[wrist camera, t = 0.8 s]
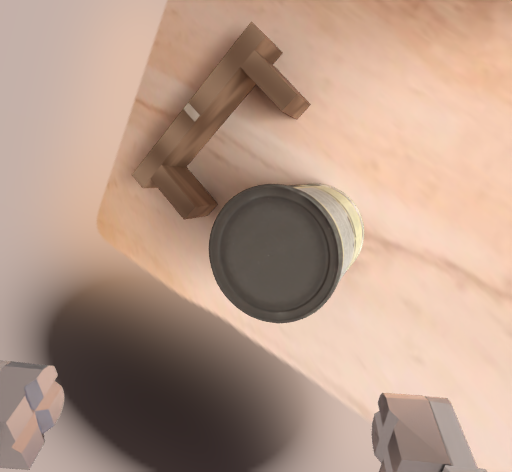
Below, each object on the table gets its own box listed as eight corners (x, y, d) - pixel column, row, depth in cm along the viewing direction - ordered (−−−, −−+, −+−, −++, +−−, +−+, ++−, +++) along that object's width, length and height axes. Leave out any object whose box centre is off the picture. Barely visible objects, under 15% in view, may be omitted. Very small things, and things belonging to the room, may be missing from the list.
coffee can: (323, 298, 42) (282, 351, 29) (252, 237, 44) (185, 261, 31) (387, 225, 38) (374, 248, 25) (307, 163, 41) (257, 154, 28)
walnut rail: (270, 39, 40) (250, 20, 36) (321, 93, 39) (308, 80, 34) (159, 175, 48) (130, 174, 43) (199, 224, 46) (174, 228, 42)
